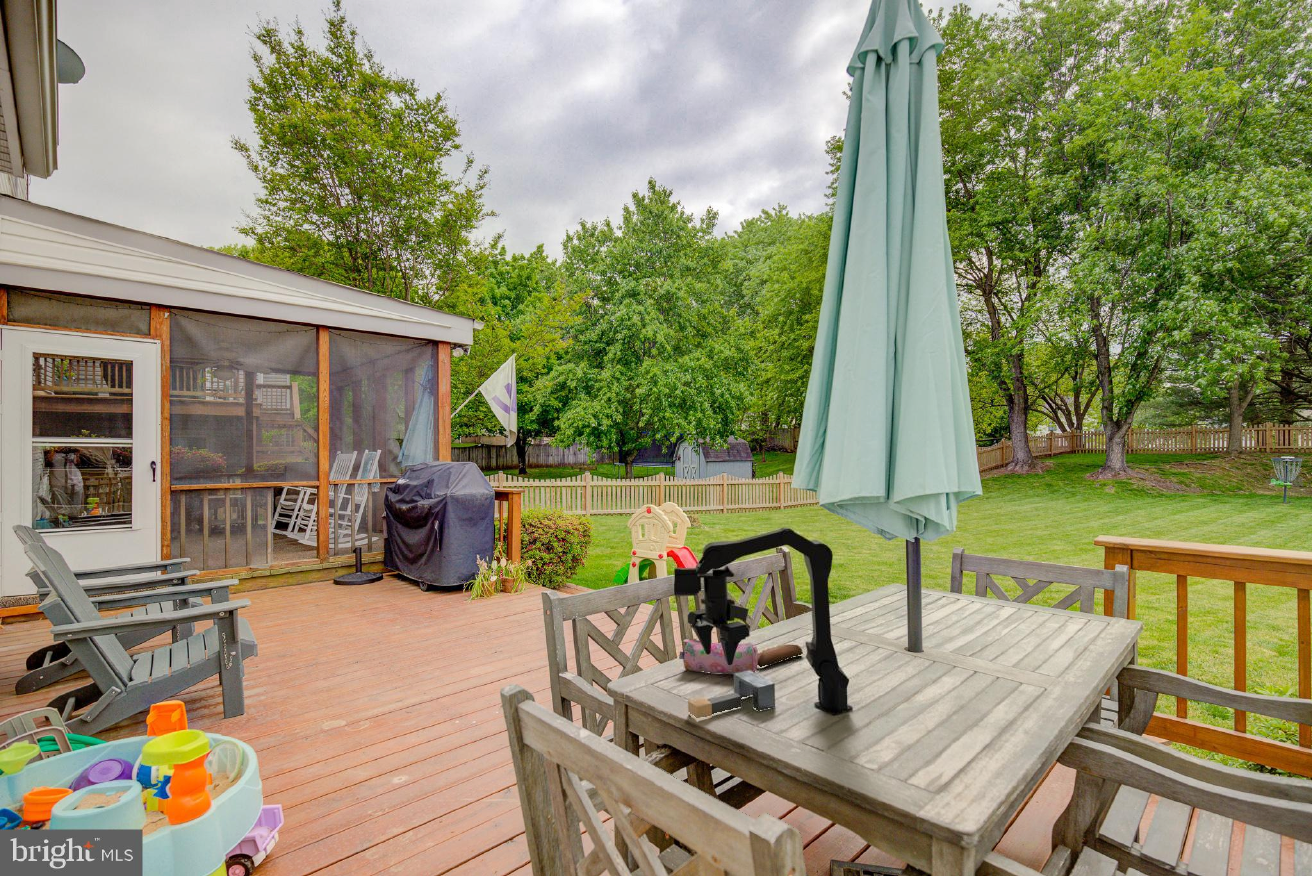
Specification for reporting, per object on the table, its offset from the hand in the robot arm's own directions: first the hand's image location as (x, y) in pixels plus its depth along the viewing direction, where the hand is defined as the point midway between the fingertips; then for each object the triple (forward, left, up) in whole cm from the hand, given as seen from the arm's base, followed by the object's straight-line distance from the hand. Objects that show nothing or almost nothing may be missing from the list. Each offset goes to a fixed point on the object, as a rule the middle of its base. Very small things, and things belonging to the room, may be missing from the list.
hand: (718, 659), depth 136 cm
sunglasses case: (+19, -32, -12) cm, 39 cm away
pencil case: (+19, -13, -12) cm, 25 cm away
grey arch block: (-2, -9, -12) cm, 15 cm away
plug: (-2, +2, -12) cm, 12 cm away
